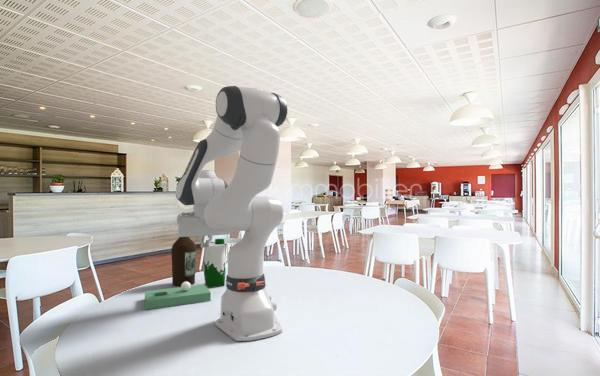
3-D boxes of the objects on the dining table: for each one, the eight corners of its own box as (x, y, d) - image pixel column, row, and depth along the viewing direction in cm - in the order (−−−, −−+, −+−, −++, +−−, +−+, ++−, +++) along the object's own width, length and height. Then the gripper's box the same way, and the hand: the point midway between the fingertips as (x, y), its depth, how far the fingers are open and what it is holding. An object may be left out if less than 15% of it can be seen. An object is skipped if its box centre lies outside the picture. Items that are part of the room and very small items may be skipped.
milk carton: (227, 286, 140) (227, 240, 141) (205, 288, 136) (205, 241, 137) (222, 281, 148) (223, 237, 149) (202, 283, 144) (202, 238, 145)
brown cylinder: (165, 285, 141) (166, 228, 142) (183, 279, 151) (183, 226, 152) (184, 288, 137) (184, 229, 138) (201, 282, 147) (201, 227, 148)
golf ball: (191, 291, 122) (191, 282, 122) (181, 292, 120) (181, 283, 120) (190, 289, 125) (190, 280, 125) (180, 290, 123) (180, 281, 124)
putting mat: (204, 291, 132) (204, 284, 132) (210, 300, 120) (210, 292, 120) (144, 299, 122) (144, 291, 122) (145, 309, 111) (145, 301, 111)
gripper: (178, 212, 119) (177, 250, 119) (232, 211, 128) (232, 246, 128) (176, 212, 125) (175, 248, 124) (228, 211, 134) (228, 244, 134)
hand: (204, 247), depth 126 cm, fingers closed
